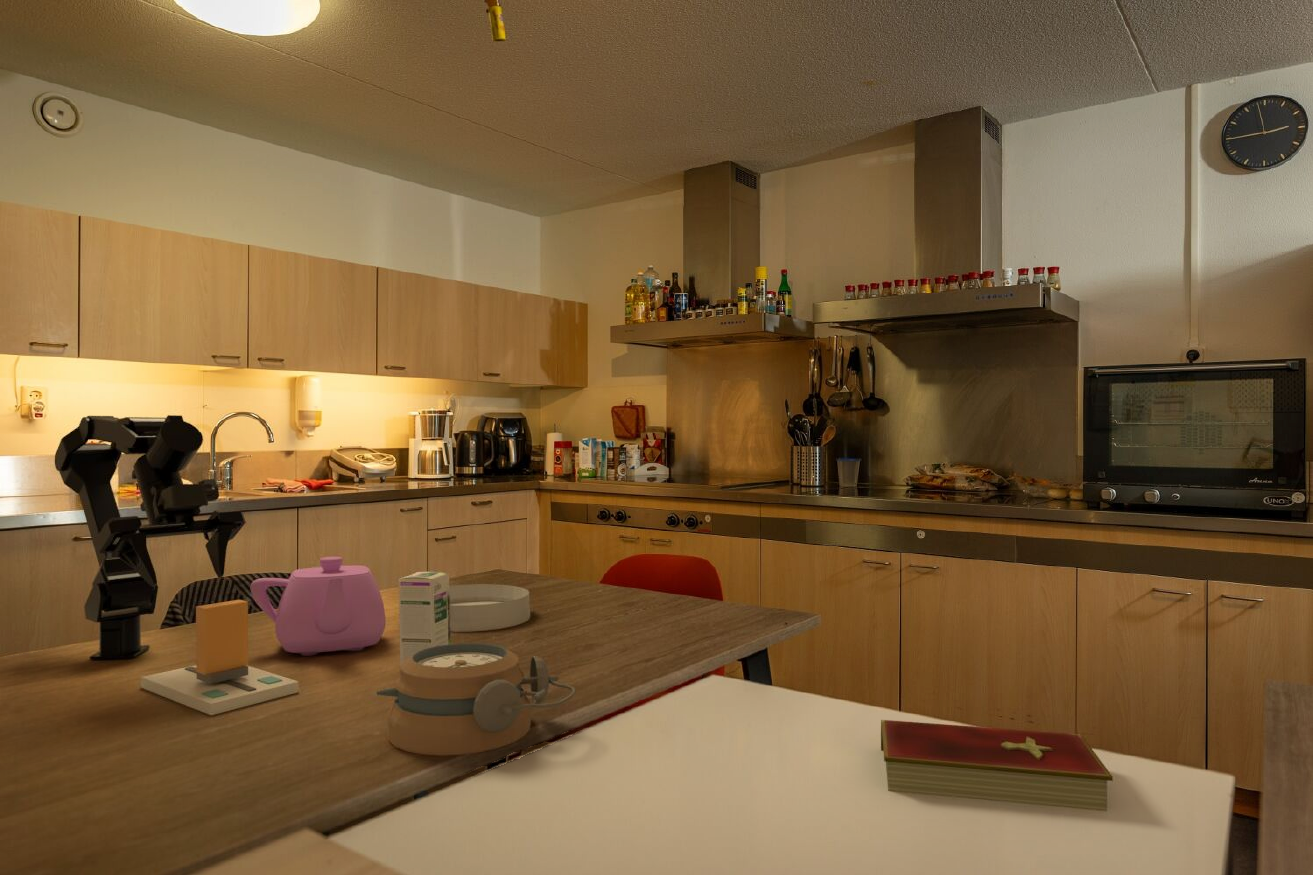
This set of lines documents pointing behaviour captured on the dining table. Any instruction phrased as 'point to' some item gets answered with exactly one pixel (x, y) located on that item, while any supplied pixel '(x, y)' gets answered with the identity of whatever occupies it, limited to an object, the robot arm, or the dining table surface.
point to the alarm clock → (464, 699)
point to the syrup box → (423, 612)
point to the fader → (222, 641)
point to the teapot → (325, 608)
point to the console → (218, 689)
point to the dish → (487, 607)
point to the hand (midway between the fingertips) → (188, 580)
